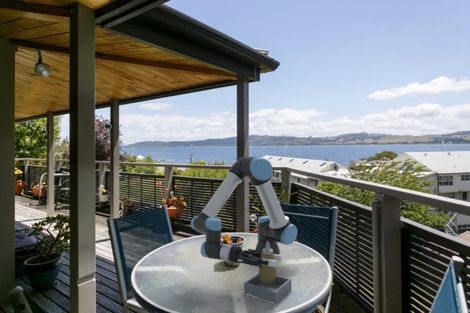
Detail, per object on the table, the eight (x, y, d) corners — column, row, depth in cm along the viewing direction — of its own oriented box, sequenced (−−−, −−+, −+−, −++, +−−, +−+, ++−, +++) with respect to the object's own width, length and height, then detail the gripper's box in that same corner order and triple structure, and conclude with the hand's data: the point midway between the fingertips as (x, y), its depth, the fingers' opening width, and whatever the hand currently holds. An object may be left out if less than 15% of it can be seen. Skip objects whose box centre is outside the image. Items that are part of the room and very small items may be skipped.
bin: (261, 281, 152) (261, 271, 151) (291, 289, 143) (291, 279, 142) (244, 294, 139) (244, 283, 139) (275, 304, 130) (275, 292, 130)
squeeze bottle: (262, 286, 135) (262, 245, 135) (256, 278, 143) (256, 239, 142) (279, 284, 138) (279, 243, 137) (272, 276, 145) (272, 238, 145)
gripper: (239, 254, 156) (284, 262, 147) (222, 268, 139) (271, 277, 129) (239, 240, 156) (284, 246, 147) (222, 252, 138) (272, 260, 129)
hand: (278, 261), depth 138 cm, fingers closed on squeeze bottle, 6 cm apart
